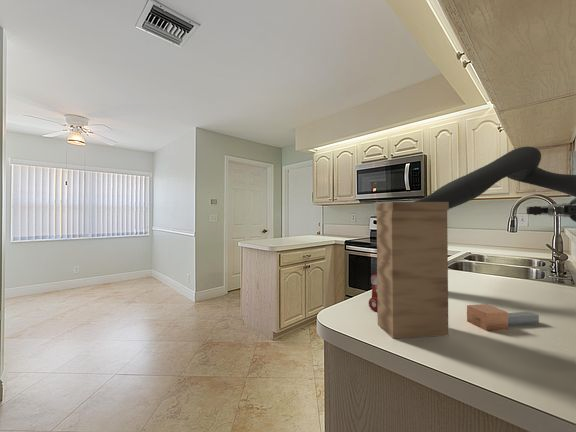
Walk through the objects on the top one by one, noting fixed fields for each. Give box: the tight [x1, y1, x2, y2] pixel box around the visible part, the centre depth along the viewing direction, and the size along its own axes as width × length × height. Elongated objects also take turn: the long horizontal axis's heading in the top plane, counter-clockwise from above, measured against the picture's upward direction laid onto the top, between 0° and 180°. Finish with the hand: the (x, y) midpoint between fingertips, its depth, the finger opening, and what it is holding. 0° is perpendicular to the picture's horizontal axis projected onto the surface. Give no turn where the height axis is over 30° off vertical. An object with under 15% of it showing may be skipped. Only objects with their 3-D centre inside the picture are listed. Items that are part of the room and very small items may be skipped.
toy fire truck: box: [368, 274, 378, 312], centre depth 78 cm, size 7×12×10 cm, turn 31°
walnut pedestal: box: [375, 201, 450, 340], centre depth 66 cm, size 9×14×32 cm, turn 96°
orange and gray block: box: [466, 303, 540, 332], centre depth 69 cm, size 6×17×4 cm, turn 97°
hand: (544, 210), depth 70 cm, fingers open, 8 cm apart
